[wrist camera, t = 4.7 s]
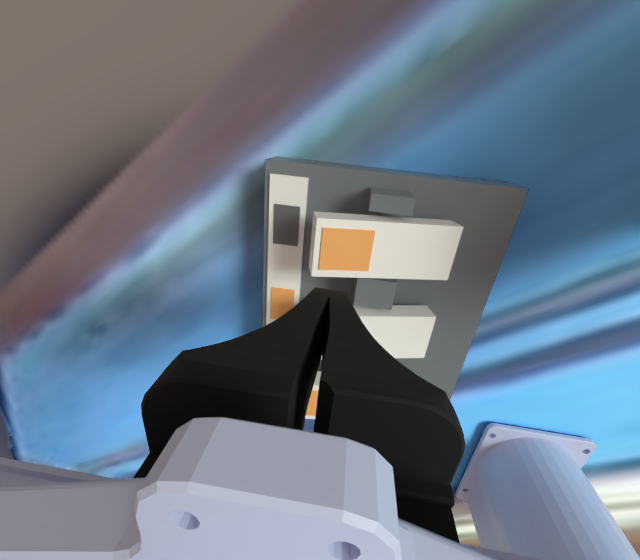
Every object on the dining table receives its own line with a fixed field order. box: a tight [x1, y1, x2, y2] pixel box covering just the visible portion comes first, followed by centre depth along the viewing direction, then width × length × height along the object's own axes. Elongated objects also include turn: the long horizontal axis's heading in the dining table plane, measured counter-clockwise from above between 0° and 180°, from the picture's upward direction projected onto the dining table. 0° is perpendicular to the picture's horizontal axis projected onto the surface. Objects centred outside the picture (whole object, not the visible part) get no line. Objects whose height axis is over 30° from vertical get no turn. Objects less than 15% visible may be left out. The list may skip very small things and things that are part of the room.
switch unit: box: [262, 157, 529, 400], centre depth 19 cm, size 16×13×4 cm
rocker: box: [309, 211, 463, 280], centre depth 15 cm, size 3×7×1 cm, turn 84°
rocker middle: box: [321, 305, 436, 360], centre depth 17 cm, size 3×7×1 cm, turn 85°
